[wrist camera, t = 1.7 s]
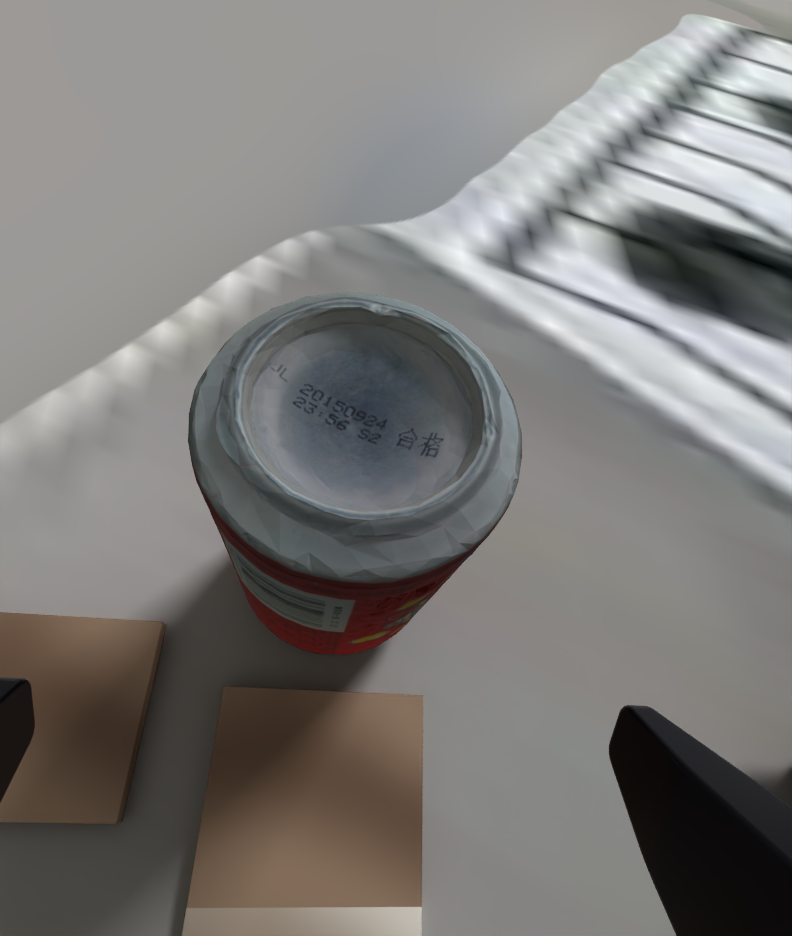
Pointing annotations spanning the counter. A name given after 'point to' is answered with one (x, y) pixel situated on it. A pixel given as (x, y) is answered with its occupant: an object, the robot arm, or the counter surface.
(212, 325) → the counter surface
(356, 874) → the brown wooden board
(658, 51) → the counter surface
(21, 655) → the lane broken
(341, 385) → the soda can
